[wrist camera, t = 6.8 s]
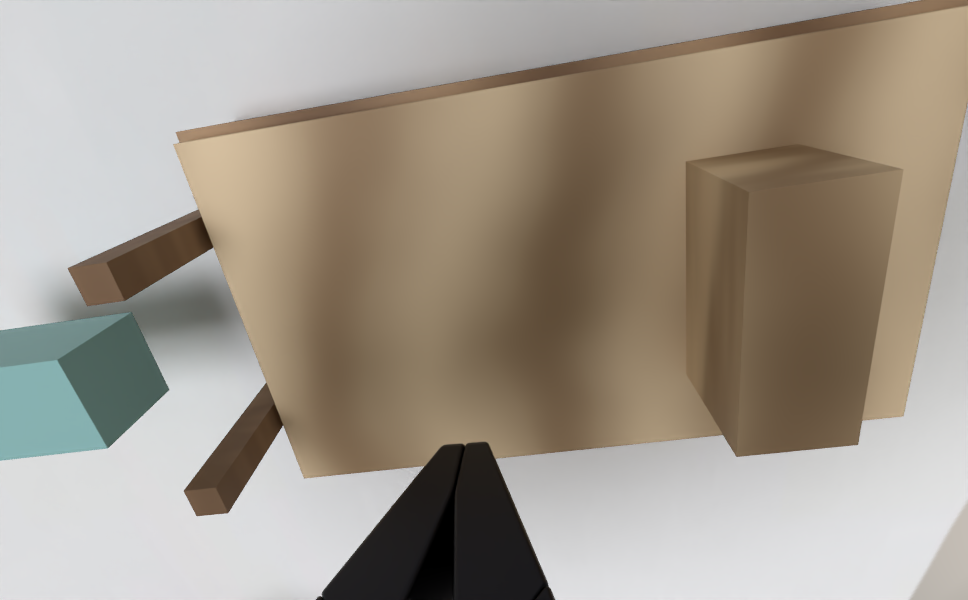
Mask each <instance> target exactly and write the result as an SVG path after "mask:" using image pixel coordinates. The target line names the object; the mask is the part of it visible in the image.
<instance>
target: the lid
mask: <svg viewBox="0 0 968 600" xmlns="http://www.w3.org/2000/svg"><path fill="white" fill-rule="evenodd" d="M967 103H968V5H967V6H960V7H955V8H949V9H943V10H937V11H932V12H926V13H920V14H914V15H909V16H903V17H897V18H892V19H886V20H880V21H874V22H869V23H863V24H857V25H851V26H846V27H840V28H834V29H828V30H823V31H817V32H811V33H806V34H800V35H794V36H788V37H783V38H777V39H771V40H765V41H760V42H754V43H748V44H742V45H737V46H731V47H725V48H719V49H714V50H708V51H702V52H697V53H691V54H685V55H679V56H674V57H668V58H662V59H656V60H651V61H645V62H639V63H633V64H628V65H622V66H616V67H610V68H605V69H599V70H593V71H588V72H582V73H576V74H570V75H565V76H559V77H553V78H547V79H542V80H536V81H530V82H524V83H519V84H513V85H507V86H502V87H496V88H490V89H484V90H479V91H473V92H467V93H461V94H456V95H450V96H444V97H438V98H433V99H427V100H421V101H415V102H410V103H404V104H398V105H393V106H387V107H381V108H375V109H370V110H364V111H358V112H352V113H347V114H341V115H335V116H329V117H324V118H318V119H312V120H306V121H301V122H295V123H289V124H284V125H278V126H272V127H266V128H261V129H255V130H249V131H243V132H238V133H232V134H226V135H220V136H215V137H209V138H203V139H198V140H192V141H187V142H182V143H177V144H173V145H174V148H175V150H176V153H177V155H178V158H179V160H180V163H181V165H182V168H183V171H184V173H185V176H186V178H187V181H188V183H189V186H190V188H191V191H192V194H193V196H194V199H195V201H196V204H197V206H198V209H199V211H200V214H201V216H202V219H203V222H204V224H205V227H206V229H207V232H208V234H209V237H210V239H211V242H212V245H213V247H214V250H215V252H216V255H217V257H218V260H219V262H220V265H221V267H222V270H223V273H224V275H225V278H226V280H227V283H228V285H229V288H230V290H231V293H232V296H233V298H234V301H235V303H236V306H237V308H238V311H239V313H240V316H241V319H242V321H243V324H244V326H245V329H246V331H247V334H248V336H249V339H250V341H251V344H252V347H253V349H254V352H255V354H256V357H257V359H258V362H259V364H260V367H261V370H262V372H263V375H264V377H265V380H266V382H267V385H268V387H269V390H270V392H271V395H272V398H273V400H274V403H275V405H276V408H277V410H278V413H279V415H280V418H281V421H282V423H283V426H284V428H285V431H286V433H287V436H288V438H289V441H290V443H291V446H292V449H293V451H294V454H295V456H296V459H297V461H298V464H299V466H300V469H301V472H302V474H303V477H304V478H313V477H322V476H332V475H341V474H351V473H361V472H370V471H380V470H390V469H399V468H409V467H419V466H425V465H426V464H427V463H428V462H429V460H430V459H431V458H432V457H433V456H434V454H435V453H436V452H437V451H438V449H439V448H440V447H441V446H443V445H446V444H459V443H462V444H464V445H466V444H467V443H472V442H487V443H488V444H489V445H490V448H491V450H492V452H493V455H494V457H495V459H496V458H506V457H515V456H525V455H534V454H544V453H554V452H563V451H573V450H583V449H592V448H602V447H612V446H621V445H631V444H641V443H650V442H660V441H670V440H679V439H689V438H699V437H708V436H718V435H724V437H725V439H726V440H727V442H728V444H729V445H730V447H731V449H732V450H733V452H734V453H735V455H736V457H740V456H750V455H760V454H770V453H780V452H790V451H800V450H810V449H820V448H830V447H841V446H851V445H858V442H859V436H860V429H861V423H862V421H863V420H872V419H882V418H892V417H901V416H903V415H904V411H905V406H906V401H907V396H908V391H909V386H910V381H911V376H912V372H913V367H914V362H915V357H916V352H917V347H918V342H919V337H920V332H921V328H922V323H923V318H924V313H925V308H926V303H927V298H928V293H929V289H930V284H931V279H932V274H933V269H934V264H935V259H936V254H937V249H938V245H939V240H940V235H941V230H942V225H943V220H944V215H945V210H946V206H947V201H948V196H949V191H950V186H951V181H952V176H953V171H954V166H955V162H956V157H957V152H958V147H959V142H960V137H961V132H962V127H963V122H964V118H965V113H966V108H967Z"/></svg>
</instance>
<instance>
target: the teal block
mask: <svg viewBox="0 0 968 600" xmlns="http://www.w3.org/2000/svg"><path fill="white" fill-rule="evenodd" d="M168 391H169V388H168V386H167V384H166V382H165V380H164V378H163V376H162V374H161V372H160V370H159V368H158V365H157V363H156V361H155V359H154V357H153V355H152V353H151V351H150V349H149V347H148V345H147V343H146V341H145V339H144V337H143V335H142V333H141V330H140V328H139V326H138V324H137V322H136V320H135V318H134V316H133V314H132V312H128V313H121V314H114V315H107V316H100V317H93V318H86V319H79V320H71V321H64V322H57V323H50V324H43V325H36V326H29V327H22V328H15V329H8V330H1V331H0V461H1V460H10V459H19V458H27V457H36V456H45V455H54V454H62V453H71V452H80V451H89V450H97V449H106V448H109V447H110V446H111V445H112V444H113V443H114V442H115V441H116V440H117V439H118V438H119V437H120V436H121V435H122V434H123V433H124V432H125V431H126V430H128V429H129V428H130V427H131V426H132V425H133V424H134V423H135V422H136V421H137V420H138V419H139V418H140V417H141V416H142V415H143V414H144V413H145V412H147V411H148V410H149V409H150V408H151V407H152V406H153V405H154V404H155V403H156V402H157V401H158V400H159V399H160V398H161V397H162V396H163V395H164V394H165V393H167V392H168Z"/></svg>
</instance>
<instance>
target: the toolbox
mask: <svg viewBox="0 0 968 600" xmlns="http://www.w3.org/2000/svg"><path fill="white" fill-rule="evenodd" d="M967 5H968V0H921V1H915V2H909V3H903V4H897V5H892V6H886V7H880V8H875V9H869V10H863V11H858V12H852V13H846V14H841V15H835V16H829V17H824V18H818V19H812V20H807V21H801V22H795V23H790V24H784V25H778V26H773V27H767V28H761V29H756V30H750V31H744V32H739V33H733V34H727V35H722V36H716V37H710V38H705V39H699V40H693V41H688V42H682V43H676V44H671V45H665V46H659V47H654V48H648V49H642V50H637V51H631V52H625V53H620V54H614V55H608V56H603V57H597V58H591V59H586V60H580V61H574V62H569V63H563V64H558V65H552V66H546V67H541V68H535V69H529V70H524V71H518V72H512V73H507V74H501V75H495V76H490V77H484V78H478V79H473V80H467V81H461V82H456V83H450V84H444V85H439V86H433V87H427V88H422V89H416V90H410V91H405V92H399V93H393V94H388V95H382V96H376V97H371V98H365V99H359V100H354V101H348V102H342V103H337V104H331V105H325V106H320V107H314V108H308V109H303V110H297V111H291V112H286V113H280V114H274V115H269V116H263V117H257V118H252V119H246V120H241V121H235V122H229V123H224V124H218V125H213V126H207V127H202V128H196V129H191V130H185V131H180V132H176V134H177V137H178V139H179V142H180V143H182V142H187V141H192V140H198V139H203V138H209V137H215V136H220V135H226V134H232V133H238V132H243V131H249V130H255V129H261V128H266V127H272V126H278V125H284V124H289V123H295V122H301V121H306V120H312V119H318V118H324V117H329V116H335V115H341V114H347V113H352V112H358V111H364V110H370V109H375V108H381V107H387V106H393V105H398V104H404V103H410V102H415V101H421V100H427V99H433V98H438V97H444V96H450V95H456V94H461V93H467V92H473V91H479V90H484V89H490V88H496V87H502V86H507V85H513V84H519V83H524V82H530V81H536V80H542V79H547V78H553V77H559V76H565V75H570V74H576V73H582V72H588V71H593V70H599V69H605V68H610V67H616V66H622V65H628V64H633V63H639V62H645V61H651V60H656V59H662V58H668V57H674V56H679V55H685V54H691V53H697V52H702V51H708V50H714V49H719V48H725V47H731V46H737V45H742V44H748V43H754V42H760V41H765V40H771V39H777V38H783V37H788V36H794V35H800V34H806V33H811V32H817V31H823V30H828V29H834V28H840V27H846V26H851V25H857V24H863V23H869V22H874V21H880V20H886V19H892V18H897V17H903V16H909V15H914V14H920V13H926V12H932V11H937V10H943V9H949V8H955V7H960V6H967ZM212 248H213V245H212V242H211V239H210V237H209V234H208V232H207V229H206V227H205V224H204V222H203V219H202V216H201V214H200V211H199V210H196V211H194V212H192V213H190V214H187V215H185V216H183V217H181V218H178V219H176V220H174V221H172V222H170V223H167V224H165V225H163V226H161V227H158V228H156V229H154V230H152V231H149V232H147V233H145V234H143V235H141V236H138V237H136V238H134V239H132V240H129V241H127V242H125V243H123V244H121V245H118V246H116V247H114V248H112V249H109V250H107V251H105V252H103V253H100V254H98V255H96V256H94V257H92V258H89V259H87V260H85V261H83V262H80V263H78V264H76V265H74V266H71V267H69V268H68V270H69V272H70V274H71V276H72V278H73V280H74V282H75V283H76V285H77V287H78V289H79V291H80V293H81V295H82V297H83V299H84V301H85V303H86V305H87V306H92V305H99V304H106V303H113V302H119V301H125V300H127V299H129V298H130V297H132V296H133V295H135V294H137V293H138V292H140V291H142V290H143V289H145V288H147V287H148V286H150V285H152V284H153V283H155V282H157V281H158V280H160V279H162V278H163V277H165V276H167V275H168V274H170V273H172V272H173V271H175V270H177V269H178V268H180V267H182V266H183V265H185V264H187V263H188V262H190V261H192V260H193V259H195V258H197V257H198V256H200V255H202V254H203V253H205V252H207V251H208V250H210V249H212ZM282 426H283V423H282V421H281V418H280V415H279V413H278V410H277V408H276V405H275V403H274V400H273V398H272V395H271V392H270V390H269V387H268V385H267V383H266V384H265V385H264V386H263V388H262V389H261V390H260V392H259V393H258V394H257V396H256V397H255V398H254V400H253V401H252V402H251V403H250V405H249V406H248V407H247V409H246V410H245V411H244V413H243V414H242V415H241V417H240V418H239V419H238V421H237V422H236V423H235V424H234V426H233V427H232V428H231V430H230V431H229V432H228V434H227V435H226V436H225V438H224V439H223V440H222V441H221V443H220V444H219V445H218V447H217V448H216V449H215V451H214V452H213V453H212V455H211V456H210V457H209V458H208V460H207V461H206V462H205V464H204V465H203V466H202V468H201V469H200V470H199V472H198V473H197V474H196V475H195V477H194V478H193V479H192V481H191V482H190V483H189V485H188V486H187V487H186V489H185V490H184V493H185V494H186V496H187V498H188V500H189V502H190V504H191V506H192V508H193V510H194V512H195V514H196V516H204V515H214V514H224V513H228V512H229V511H230V509H231V508H232V506H233V504H234V503H235V501H236V500H237V498H238V496H239V495H240V493H241V492H242V490H243V488H244V487H245V485H246V484H247V482H248V480H249V479H250V477H251V476H252V474H253V472H254V471H255V469H256V468H257V466H258V464H259V463H260V461H261V460H262V458H263V456H264V455H265V453H266V452H267V450H268V448H269V447H270V445H271V444H272V442H273V440H274V439H275V437H276V436H277V434H278V432H279V431H280V429H281V428H282Z"/></svg>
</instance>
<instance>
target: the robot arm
mask: <svg viewBox="0 0 968 600" xmlns="http://www.w3.org/2000/svg"><path fill="white" fill-rule="evenodd" d="M322 597H323V598H322ZM322 597H321V596H319V597H318V598H317V599H316V600H555V598H554V596H553V593H552V591H551V589H550V588H549V586H548V582H547V580H546V577H545V575H544V573H543V570H542V568H541V566H540V563H539V561H538V559H537V556H536V554H535V552H534V549H533V547H532V544H531V542H530V540H529V537H528V535H527V533H526V530H525V528H524V526H523V523H522V521H521V518H520V516H519V514H518V511H517V509H516V507H515V504H514V502H513V500H512V497H511V495H510V493H509V490H508V488H507V485H506V483H505V481H504V478H503V476H502V474H501V471H500V469H499V467H498V464H497V462H496V460H495V457H494V455H493V452H492V450H491V448H490V445H489V444H488V443H487V442H472V443H467V444H466V445H464V444H462V443H459V444H446V445H443V446H441V447H440V448H439V449H438V451H437V452H436V453H435V454H434V456H433V457H432V458H431V459H430V460H429V462H428V463H427V464H426V465H425V467H424V468H423V469H422V470H421V471H420V473H419V474H418V475H417V476H416V478H415V479H414V480H413V481H412V483H411V484H410V485H409V486H408V487H407V489H406V490H405V491H404V492H403V494H402V495H401V496H400V497H399V498H398V500H397V501H396V502H395V503H394V505H393V506H392V507H391V508H390V510H389V511H388V512H387V513H386V514H385V516H384V517H383V518H382V519H381V521H380V522H379V523H378V524H377V525H376V527H375V528H374V529H373V530H372V532H371V533H370V534H369V535H368V536H367V538H366V539H365V540H364V541H363V543H362V544H361V545H360V546H359V548H358V549H357V550H356V551H355V552H354V554H353V555H352V556H351V557H350V559H349V560H348V561H347V562H346V563H345V565H344V566H343V567H342V568H341V570H340V571H339V572H338V573H337V575H336V576H335V577H334V578H333V579H332V581H331V582H330V583H329V584H328V586H327V587H326V588H325V589H324V590H323V592H322Z"/></svg>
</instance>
